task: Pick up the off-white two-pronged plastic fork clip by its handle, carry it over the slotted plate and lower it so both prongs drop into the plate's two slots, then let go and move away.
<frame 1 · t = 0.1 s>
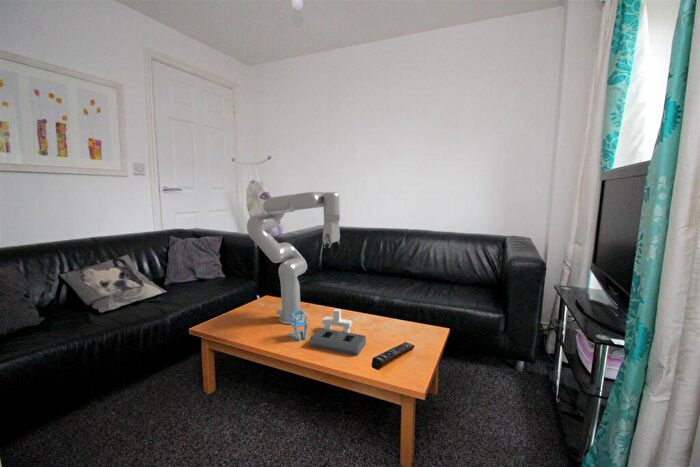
hand: (332, 254, 154), 37 cm above the table, tool pointing down, fingers open, 9 cm apart
fork clip: (337, 330, 153), on the table
slotted plate: (338, 345, 139), on the table
chair: (299, 337, 147), on the table
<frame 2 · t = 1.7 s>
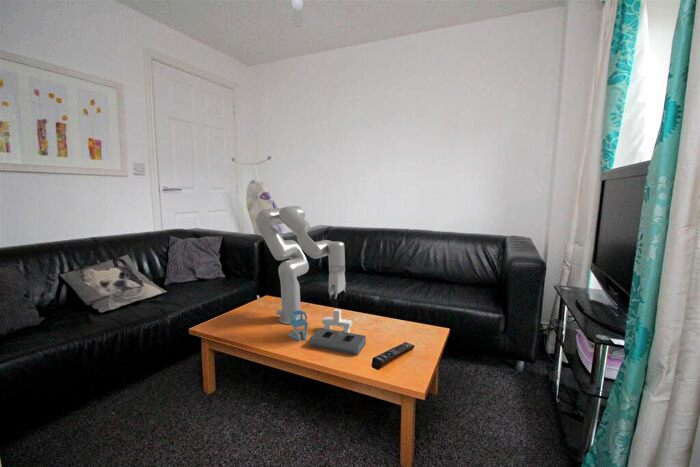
hand: (338, 303, 151), 14 cm above the table, tool pointing down, fingers open, 9 cm apart
nothing on the table moved.
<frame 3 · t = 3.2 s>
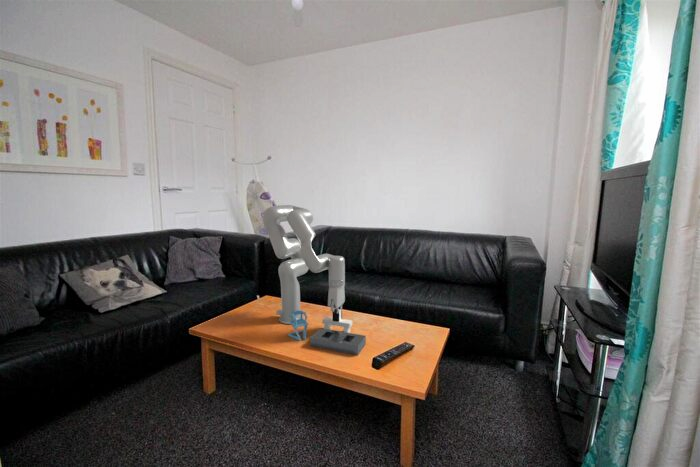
hand: (337, 319, 153), 6 cm above the table, tool pointing down, fingers closed on fork clip, 2 cm apart
fork clip: (337, 330, 153), on the table, touching gripper
everything else where it was.
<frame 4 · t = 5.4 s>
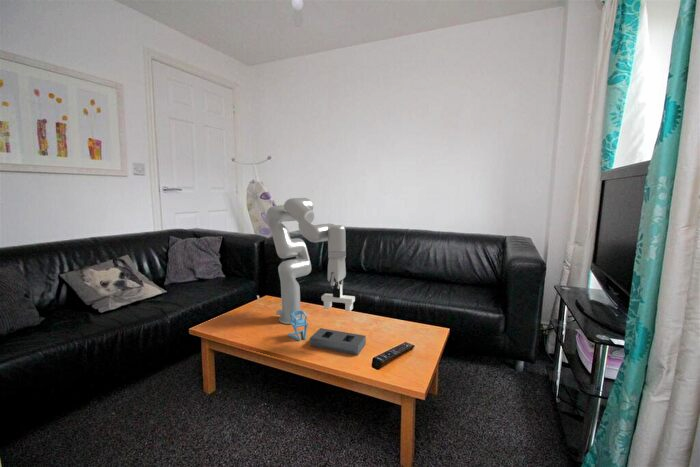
hand: (338, 295, 139), 22 cm above the table, tool pointing down, fingers closed on fork clip, 2 cm apart
fork clip: (338, 308, 139), point 16 cm above the table, touching gripper
everything else where it was.
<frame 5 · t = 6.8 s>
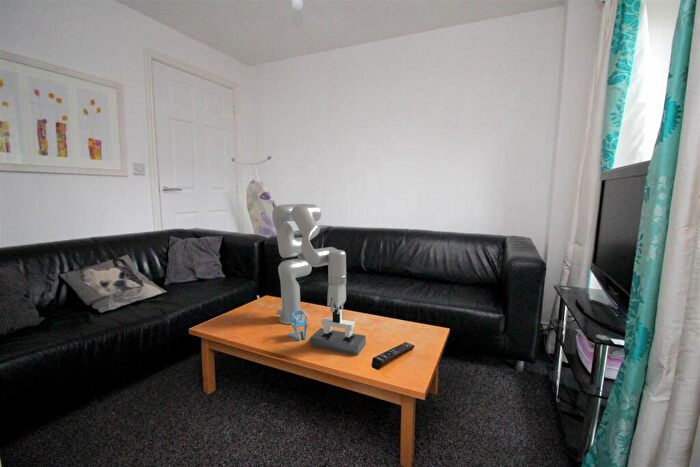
hand: (337, 320, 138), 11 cm above the table, tool pointing down, fingers closed on fork clip, 2 cm apart
fork clip: (338, 333, 138), point 6 cm above the table, touching gripper
everything else where it was.
when the fingers open (7 cm above the table, at t = 8.0 s): fork clip stays where it is, resting on slotted plate.
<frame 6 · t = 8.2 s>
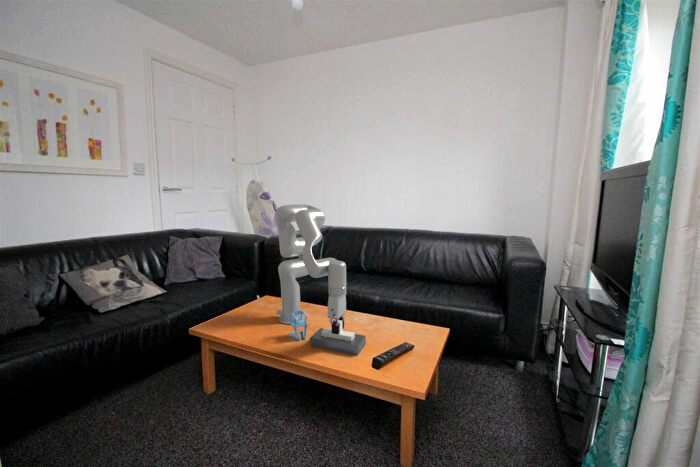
hand: (337, 330, 138), 7 cm above the table, tool pointing down, fingers open, 4 cm apart
fork clip: (338, 344, 139), resting on slotted plate
everything else where it was.
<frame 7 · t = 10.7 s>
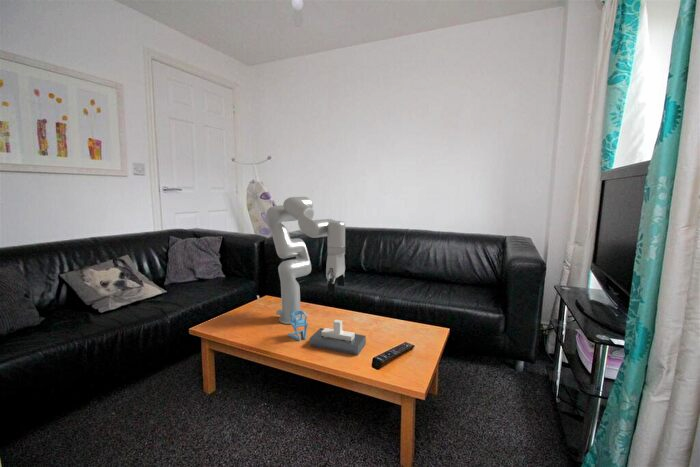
hand: (336, 288, 139), 25 cm above the table, tool pointing down, fingers open, 9 cm apart
nothing on the table moved.
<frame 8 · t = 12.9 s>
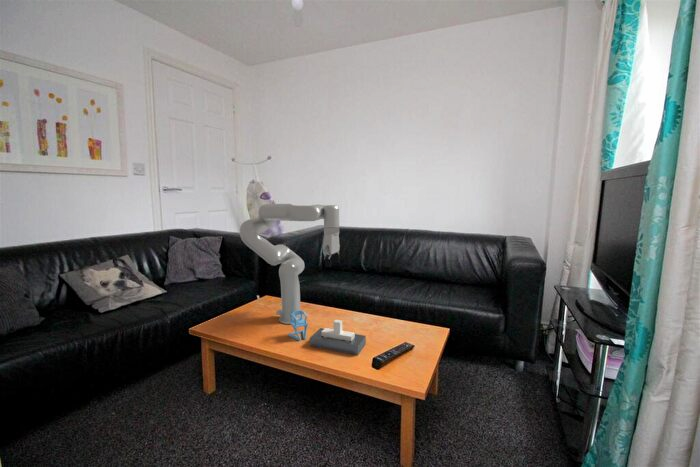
hand: (332, 264, 159), 30 cm above the table, tool pointing down, fingers open, 9 cm apart
nothing on the table moved.
at the end: fork clip 0.0 cm off-centre on the slotted plate, point 0.5 cm above the slotted plate's base; fork clip tilted 0°; the gripper is holding nothing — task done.
